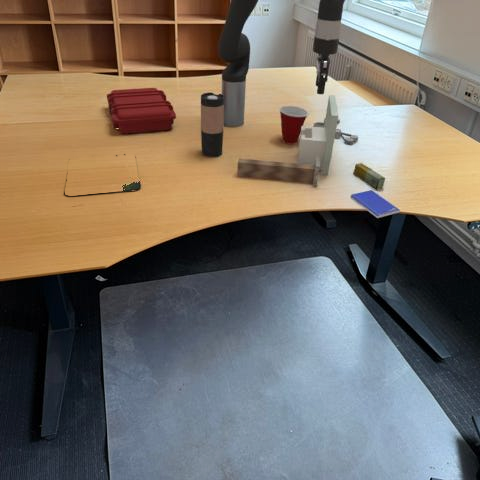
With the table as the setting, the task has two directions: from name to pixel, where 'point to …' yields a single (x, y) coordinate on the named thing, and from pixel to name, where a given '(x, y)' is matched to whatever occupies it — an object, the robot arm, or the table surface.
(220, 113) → the travel mug
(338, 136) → the pulley system
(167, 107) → the first aid kit
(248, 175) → the post on square base
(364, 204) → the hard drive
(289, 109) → the plastic cup
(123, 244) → the table surface
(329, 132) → the grey upright panel
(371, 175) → the medication box
